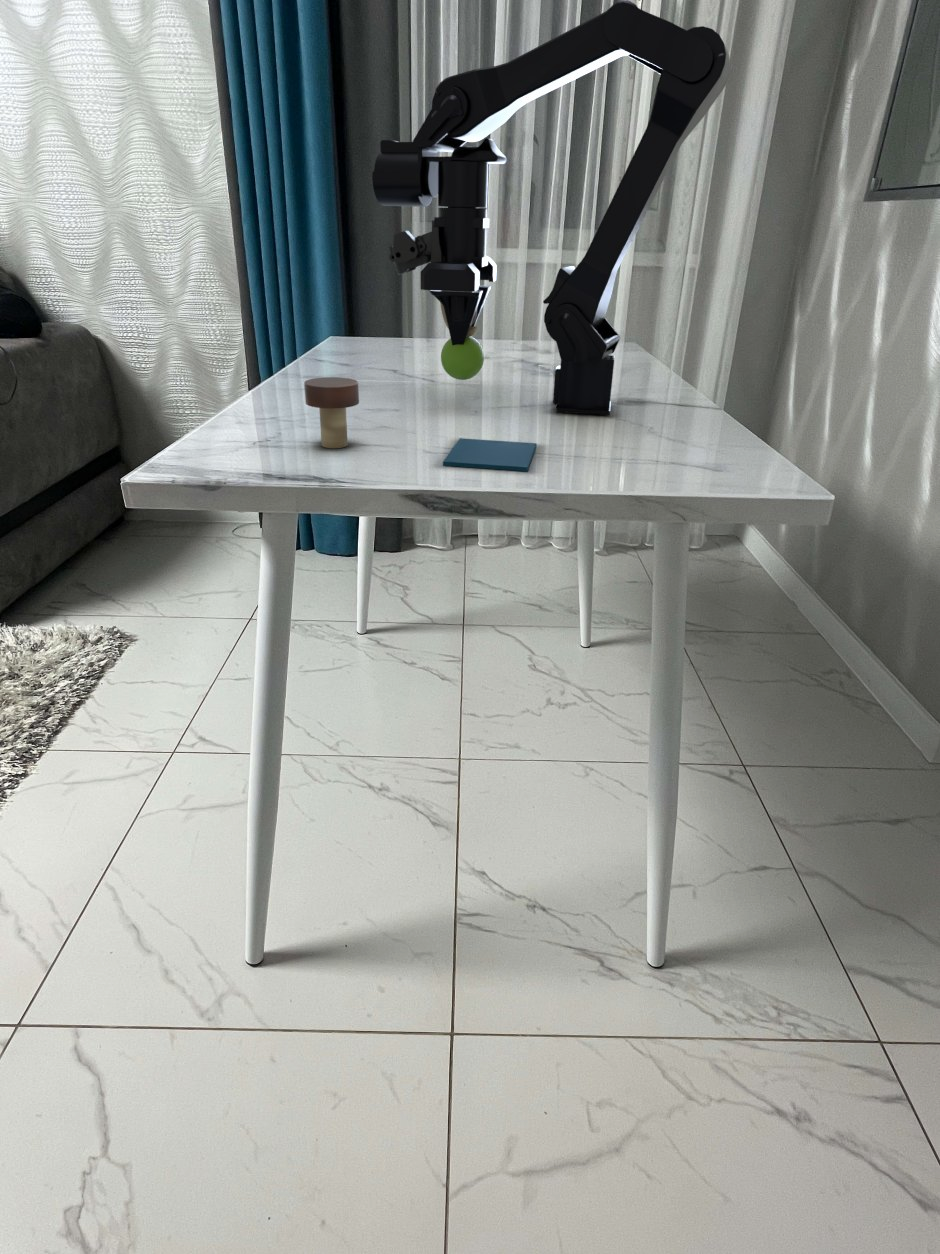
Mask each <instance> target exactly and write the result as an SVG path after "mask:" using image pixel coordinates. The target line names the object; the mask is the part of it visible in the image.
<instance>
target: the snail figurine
mask: <svg viewBox="0 0 940 1254" xmlns="http://www.w3.org/2000/svg"><path fill="white" fill-rule="evenodd" d="M439 304H440V311H441V316H442V319H443V322H444V324H445V327H446V328H447V329H448V330H449V328H448V323H447V319H446V315H445V311H444V307H443V305H442V303H441V302H440V301H439ZM476 316H477V309H476V312H475V315H474V318H473V321H472V324H473V323H474V322H475V320H476ZM472 324H471V326H472ZM477 330H478V327H477V326H476V325H475V326H474V327H470V329H469V332H468V335H467V338H466V341H465V343H464V345H453V346H452V342H451V337H449V338H448V340H446V342H445V343H444V345H443V346H442V349H441V351H440V361H441V366H442V368H443V370H444V371H445V372H446V374H447V375H448V376H450V377H451V378H453V379H455V380H458V381H465V380H471V379H472V378H474V377H476V375H478V374H479V373H480V371H481V369H482V368H483V365H484V360H485V352H484V349H483V347H482V345H481V343H480V342H479V341H478V340H477V339H476V338H474V337H473V336H474V335H475V333H476V332H477Z"/></svg>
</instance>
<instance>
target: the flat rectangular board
mask: <svg viewBox="0 0 940 1254" xmlns="http://www.w3.org/2000/svg"><path fill="white" fill-rule="evenodd" d="M537 446H538V443H536V442H523V441H509V440H507V441H505V440H491V439H478V438H477V439H476V438H462V437H460V438H459V439H458V440H457V441H456V442H455V444H454V446H453V447H452V448H451V450H450V451H449V453H448V454H447V455H446V456H445V458H444V459H443V461H442V466H446V467H461V468H473V469H485V470H499V471H501V470H502V471H514V472H528V471H529V468H530V466H531V463H532V460H533V458H534V455H535V452H536V449H537Z"/></svg>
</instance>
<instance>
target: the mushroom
mask: <svg viewBox="0 0 940 1254" xmlns="http://www.w3.org/2000/svg"><path fill="white" fill-rule="evenodd" d="M303 385H304V400H305V404H306V405H307V406H308V407H312V408H316V409H319V425H320V426H319V427H320V440H321V442H320V443H321V446H322V447H323V448H326V449H342V448H346V447H347V446H348V444H349V443H348V423H347V422H348V421H347V409H348V408H352V407H355V406H358V405H359V403H360V390H359V381H358V380H357V379H353V378H348V377H337V376H329V377H328V376H326V377H325V376H324V377H313V378H310V379H309V378H308V379H307V380H305V381H304V382H303Z"/></svg>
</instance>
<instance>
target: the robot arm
mask: <svg viewBox="0 0 940 1254" xmlns="http://www.w3.org/2000/svg"><path fill="white" fill-rule="evenodd" d="M621 57H629V58H630V59H633V60H634V61H636V62H638V63H640V64H642V65H643V66H645V67H647V68H648V69H650V70H652V71H653V72H656V73H657V74H659V75H660V76H659V78H658V82H657V84H656V85H657V86H656V89H655V93H654V98H653V102H652V106H651V111H650V116H649V119H648V121H647V126H646V128H645V130H644V132H643V134H642V137H641V139H640V141H639V142H638V145H637V147H636V149H635V151H634V153H633V155H632V156H631V159H630V161H629V163H628V165H627V168H626V170H625V172H624V174H623V176H622V177H621V179H620V182H619V184H618V186H617V188H616V190H615V192H614V194H613V197H612V199H611V201H610V203H609V205H608V207H607V209H606V211H605V213H604V215H603V217H602V219H601V222H600V223H599V225H598V228H597V230H596V232H595V234H594V236H593V238H592V240H591V242H590V244H589V245H588V248H587V251H586V252H585V254H584V256H583V258H582V259H581V260H580V261H579V263H578V264H577V265H576V267H575V266H574V265H571V266H564V267H560V268H559V269H558V272H557V274H556V277H555V281H554V284H553V287H552V289H551V291H550V293H549V294H548V296H546V298H545V299H543V303H542V304H544V305H547V306H546V309H545V311H544V315H543V322H544V326H545V329H546V332H547V334H548V335H549V337H550V338H551V339H552V340H554V342H555V343H556V347H557V350H558V355H559V357H560V365H557V366H556V367H555V369H554V381H553V394H552V395H553V397H552V398H553V399H552V403H553V405H556V406H555V412H557V413H570V414H571V413H572V414H587V415H605V416H609V415H611V409H612V408H611V407H612V401H611V397H612V389H613V388H612V386H613V378H614V369H615V368H614V367H615V357H616V356H615V355H611V354H614V353H615V351H616V349H617V347H618V344H619V342H620V341H621V335H620V334H619V333H618V332H617V330H616V328H614V327H613V326H612V324H611V322H609V320H608V319H607V318H606V314H607V310H608V308H609V305H610V301H611V298H612V294H613V290H614V286H615V281H616V277H617V274H618V271H619V268H620V266H621V264H622V262H623V260H624V258H625V257H626V254H627V253H628V250H629V248H630V246H631V245H632V242H633V241H634V238H635V236H636V234H637V233H638V231H639V229H640V227H641V225H642V223H643V221H644V219H645V217H646V216H647V214H648V211H649V209H650V207H651V205H652V203H653V201H654V199H655V197H656V196H657V194H658V191H659V190H660V188H661V185H662V183H663V181H664V180H665V178H666V176H667V174H668V172H669V170H670V168H671V166H672V164H673V162H674V160H675V158H676V156H677V154H678V152H679V151H680V148H681V146H682V144H683V143H684V142H685V141H686V139H687V138H688V136H689V135H690V134H691V133H692V132H693V131H694V129H695V128H696V127H697V126H698V125H699V123H700V122H701V121H702V120H703V118H704V117H705V116H706V115H707V113H708V112H709V110H710V109H711V107H712V106H713V104H714V103H715V102H716V101H717V99H718V98H719V96H720V95H721V93H722V92H723V91H724V89H725V87H726V86H727V83H728V82H729V78H730V75H731V69H732V68H731V65H732V64H731V58H730V54H729V52H728V49H727V46H726V44H725V43H724V41H723V39H722V37H721V35H720V34H719V33H718V32H717V31H715V30H714V29H713V28H712V27H707V26H704V25H702V26H694V27H693V26H692V27H691V28H688V29H685V28H683V27H681V26H679V25H677V24H675V23H673V22H672V21H669V20H666V19H664V18H662V17H660V16H657V15H655V14H653V13H651V12H648V11H645V10H644V9H642V8H640V7H638V5H637V4H635V3H634V2H632V1H631V0H620V1H616V2H615V3H613V4H612V5H611V6H610V7H609V8H608V9H607V10H605V11H603V12H602V13H599V14H598V15H596V16H594V17H592V18H590V19H588V20H586V21H584V22H582V23H581V24H578V25H577V26H575V27H573V28H571V29H569V30H567V31H565V32H563V33H561V34H559V35H557V36H556V37H553V38H551V39H550V40H548V41H546V42H544V43H542V44H539V45H538V46H536V47H535V48H533V49H530V50H529V51H527V52H524V53H523V54H521V55H519V56H517V57H515V58H513V59H511V60H510V61H508V62H504V63H501V64H498V65H492V66H485V67H480V68H475V69H471V70H467V71H464V72H461V73H456V74H453V75H450V76H448V77H445V78H444V79H442V81H439V84H437V85H436V87H435V90H434V94H433V97H432V101H431V109H430V111H429V112H428V114H427V116H426V117H425V119H424V121H423V122H422V125H421V126H420V127H419V130H418V131H417V133H416V135H414V136H415V137H414V138H413V140H412V141H398V140H392V139H381V140H380V141H379V145H380V147H379V148H380V151H379V153H378V154H377V156H376V158H375V161H374V166H373V167H374V168H373V170H372V172H371V178H372V179H371V181H372V187H373V193H374V196H375V199H376V200H377V202H378V203H379V205H381V206H383V207H420V208H427V207H429V206H430V205H431V203H432V201H433V198H434V199H435V198H437V216H434V217H433V219H432V220H431V231H429V232H426V233H423V234H421V235H417V236H414V235H413V234H412V233H411V232H410V231H409V230H403V231H401V232H398V233H396V234H393V237H392V238H393V239H392V245H391V246H389V247H388V250H389V253H390V254H389V256H388V258H389V260H390V261H391V262H392V263H393V264H394V267H395V271H396V274H397V275H398V276H400V275H401V274H406V273H409V272H413V271H415V270H416V269H417V268H418V267H421V266H424V265H425V266H424V267H423V268H422V270H421V271H420V290H422V291H429V293H430V295H431V296H434V298H435V299H436V300H437V301H438V302H439V303H440V302H441V303H442V305H443V307H444V311H445V315H446V319H447V323H448V328H449V329H448V328H447V329H448V332H449V338H451V342H452V346H453V345H464V343H465V341H466V338H467V335H468V332H469V329H470V327H474V326H475V327H476V324H477V321H478V319H479V316H480V314H481V313H482V309H483V307H484V305H485V302H486V299H487V297H488V295H489V292H490V291H491V287H492V286H491V285H480V283H481V282H480V281H488V282H489V283H494V282H497V268H498V267H497V264H496V262H495V261H494V260H493V259H492V258H491V257H489V256H488V255H486V252H487V229H490V218H489V217H488V188H489V187H488V186H489V185H488V184H489V183H488V182H489V181H488V180H489V165H490V164H491V165H504V164H507V163H506V162H507V157H506V155H505V154H503V153H502V152H501V150H500V149H499V148H498V147H497V145H496V143H495V140H494V139H491V138H488V136H489V135H490V134H492V133H493V132H494V131H497V129H499V128H500V127H502V125H504V124H506V123H507V121H508V120H509V119H510V118H511V117H512V116H513V115H515V113H516V112H517V111H518V110H520V109H521V108H522V107H524V106H525V105H527V104H528V103H530V102H532V101H534V100H536V99H538V98H540V97H542V96H544V95H546V94H548V93H550V92H552V91H554V90H556V89H559V88H560V87H563V86H565V85H566V84H568V83H571V82H573V81H575V80H577V79H579V78H582V77H583V76H585V75H587V74H589V73H591V72H593V71H595V70H597V69H599V68H601V67H603V66H605V65H607V64H610V63H611V62H614V61H615V60H618V59H620V58H621ZM482 140H483V141H482ZM479 141H482V142H481V144H480V145H477V146H476V145H474V146H469V145H468V146H466V145H465V144H467V142H468V143H476V142H479ZM464 145H465V146H464ZM438 152H439V153H451V155H450V156H448V155H447V156H438ZM476 309H477V316H476V320H475V322H474V323H473V324H472V321H473V318H474V315H475V312H476ZM471 324H472V326H471Z"/></svg>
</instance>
